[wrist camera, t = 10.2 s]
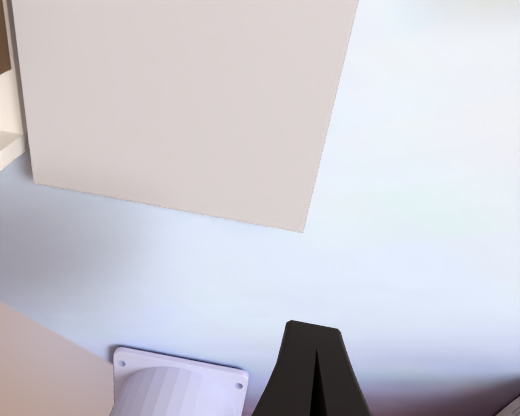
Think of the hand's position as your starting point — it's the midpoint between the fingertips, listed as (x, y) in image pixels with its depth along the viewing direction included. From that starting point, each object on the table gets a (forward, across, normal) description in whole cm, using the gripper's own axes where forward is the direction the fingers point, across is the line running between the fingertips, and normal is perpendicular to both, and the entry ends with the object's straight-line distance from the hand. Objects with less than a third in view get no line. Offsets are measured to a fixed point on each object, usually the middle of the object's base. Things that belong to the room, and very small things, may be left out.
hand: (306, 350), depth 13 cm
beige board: (+10, +6, -5) cm, 13 cm away
